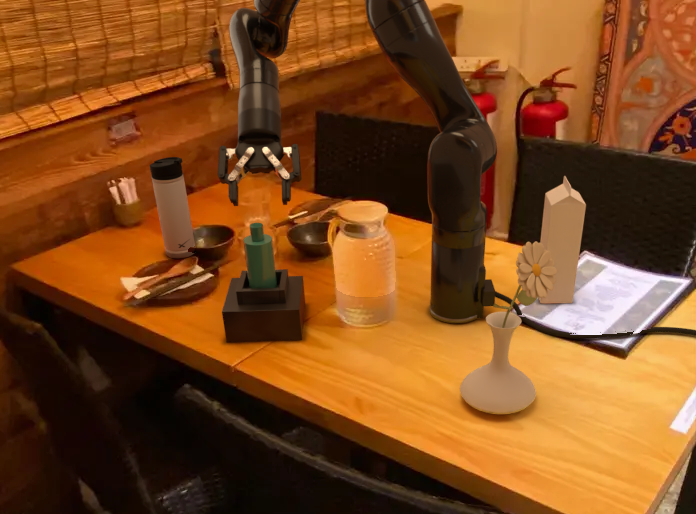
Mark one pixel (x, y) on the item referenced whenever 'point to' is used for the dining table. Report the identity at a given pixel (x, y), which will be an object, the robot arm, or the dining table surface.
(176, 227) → the travel mug
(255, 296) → the condiment stand
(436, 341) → the dining table surface
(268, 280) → the sauce bottle
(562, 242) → the milk
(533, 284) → the flower in vase
